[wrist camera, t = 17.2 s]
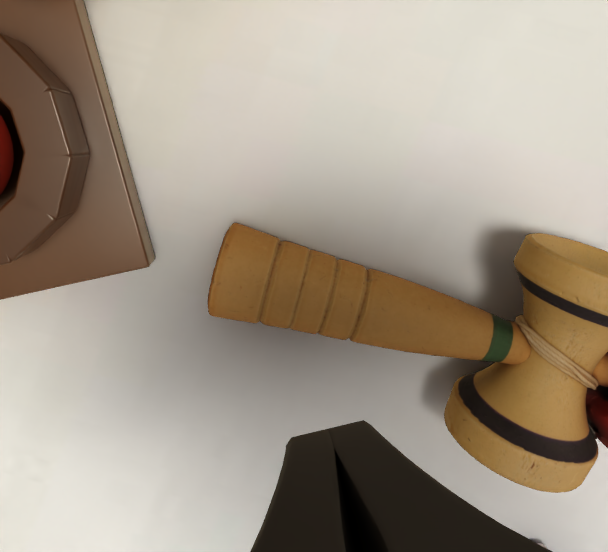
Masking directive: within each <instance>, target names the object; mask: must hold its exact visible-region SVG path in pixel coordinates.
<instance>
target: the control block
mask: <svg viewBox="0 0 608 552" xmlns="http://www.w3.org/2000/svg"><path fill="white" fill-rule="evenodd" d="M0 115H1V116H2V118H3V120H4V121H5V123H6V125H7V128H8V130H9V133H10V136H11V140H12V144H13V152H14V162H13V169H12V173H11V176H10V179H9V181H8V184H7V186H6V188H5V189H4V191H3V192H2V194H1V195H0V300H1V299H5V298H10V297H14V296H19V295H24V294H28V293H33V292H37V291H42V290H46V289H51V288H55V287H60V286H64V285H69V284H73V283H78V282H83V281H87V280H92V279H96V278H101V277H105V276H110V275H114V274H119V273H123V272H128V271H132V270H137V269H142V268H146V267H149V266H150V265H151V263H152V262H153V261H154V259H155V256H154V252H153V249H152V245H151V242H150V238H149V234H148V231H147V227H146V224H145V220H144V216H143V213H142V209H141V206H140V202H139V199H138V195H137V191H136V188H135V184H134V181H133V177H132V174H131V170H130V166H129V163H128V159H127V156H126V152H125V148H124V145H123V141H122V138H121V134H120V131H119V127H118V123H117V120H116V116H115V113H114V109H113V105H112V102H111V98H110V95H109V91H108V88H107V84H106V80H105V77H104V73H103V70H102V66H101V62H100V59H99V55H98V52H97V48H96V45H95V41H94V37H93V34H92V30H91V27H90V23H89V19H88V16H87V12H86V9H85V5H84V2H83V0H0Z"/></svg>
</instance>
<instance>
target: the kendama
mask: <svg viewBox="0 0 608 552" xmlns="http://www.w3.org/2000/svg"><path fill="white" fill-rule="evenodd" d="M513 262H514V265H515V268H516V270H517V273H518V275H519V279H520V282H521V285H522V289H523V295H524V303H523V312H524V314H523V315H519V316H517V317H516V320H515V321H514V322H512V321H507V320H504V319H502V318H500V317H498V316H496V315H494V314H491V313H488V312H486V311H484V310H482V309H479V308H477V307H475V306H472V305H470V304H467V303H465V302H463V301H461V300H458V299H455V298H453V297H450V296H448V295H445V294H443V293H440V292H437V291H435V290H432V289H429V288H427V287H424V286H422V285H419V284H416V283H413V282H410V281H408V280H405V279H402V278H399V277H396V276H393V275H390V274H387V273H384V272H381V271H377V270H374V269H368V270H366V269H365V267H364V266H362V265H359V264H355V263H352V262H349V261H346V260H343V259H339V260H337V259H336V258H335V257H334V256H331V255H328V254H325V253H322V252H319V251H315V250H309V249H308V248H306V247H304V246H301V245H298V244H294V243H291V242H288V241H280V240H279V239H278V238H277V237H274V236H271V235H268V234H266V233H263V232H260V231H257V230H255V229H252V228H249V227H247V226H244V225H241V224H238V223H233V224H232V225H231V226H230V227H229V229H228V230H227V232H226V234H225V236H224V239H223V242H222V245H221V248H220V251H219V254H218V257H217V261H216V265H215V268H214V271H213V275H212V279H211V284H210V288H209V295H208V312H209V314H210V315H211V316H214V317H220V318H226V319H232V320H238V321H245V322H251V323H257V322H259V321H261V322H262V323H263V324H265V325H269V326H275V327H280V328H290V329H292V330H297V331H301V332H307V333H312V334H316V333H319V334H320V335H323V336H327V337H332V338H337V339H342V340H346V339H348V338H349V339H350V340H351V341H353V342H357V343H362V344H367V345H372V346H377V347H383V348H388V349H394V350H400V351H406V352H413V353H420V354H428V355H434V356H445V357H453V358H461V359H469V360H479V361H492V362H495V363H494V364H492V365H491V366H489V367H487V368H486V369H484V370H482V371H478V372H475V373H473V374H468V375H464V376H462V377H460V378H459V379H458V380H457V381H456V382H455V383H454V386H453V388H452V391H451V394H450V397H449V399H448V402H447V405H446V408H445V412H444V419H445V423H446V426H447V428H448V430H449V432H450V433H451V434H452V436H453V437H454V438H455V440H456V441H457V442H458V443H459V444H460V446H461V447H462V448H463V449H464V450H466V451H467V452H468V453H469V454H470V455H471V456H472V457H474V458H475V459H476V460H477V461H479V462H480V463H481V464H483V465H484V466H486V467H487V468H489V469H490V470H492V471H494V472H495V473H497V474H499V475H501V476H503V477H505V478H507V479H509V480H511V481H513V482H515V483H518V484H521V485H523V486H526V487H529V488H532V489H536V490H539V491H546V492H555V493H558V492H568V491H571V490H573V489H575V488H577V487H578V486H580V485H581V484H582V482H583V481H584V479H585V477H586V476H587V474H588V473H589V471H590V469H591V468H592V466H593V465H594V463H595V461H596V459H597V457H598V446H597V443H596V440H595V439H597V438H598V439H599V440H600V441H601V442H602V443H603V444H604V445H605V446H606V447H607V448H608V252H606V251H604V250H601V249H598V248H595V247H592V246H589V245H586V244H583V243H580V242H576V241H573V240H570V239H566V238H562V237H557V236H553V235H548V234H541V233H536V234H535V233H534V234H528V235H526V236H525V239H524V241H523V243H522V245H521V247H520V249H519V250H518V252H517V254H516V256H515V259H514V261H513Z"/></svg>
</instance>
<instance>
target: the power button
mask: <svg viewBox="0 0 608 552" xmlns="http://www.w3.org/2000/svg"><path fill="white" fill-rule="evenodd" d="M13 162H14V152H13V144H12V140H11V136H10V133H9V130H8V128H7V125H6V123H5V121H4V120H3V118H2V116H1V115H0V195H1V194H2V192H3V191H4V189H5V188H6V186H7V184H8V181H9V179H10V176H11V173H12V169H13Z"/></svg>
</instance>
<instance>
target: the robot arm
mask: <svg viewBox="0 0 608 552" xmlns="http://www.w3.org/2000/svg"><path fill="white" fill-rule="evenodd" d="M251 552H552V551H550V550H548V549H547V547H546V546H545V545H544V544H541V543H535V542H533V541H531V540H529V539H528V538H526V537H524V536H522V535H520V534H518V533H517V532H515V531H513V530H511V529H509V528H507V527H505V526H504V525H502V524H500V523H499V522H497V521H495V520H494V519H492V518H491V517H489V516H487V515H486V514H484V513H483V512H481V511H480V510H478V509H477V508H475V507H474V506H472V505H470V504H469V503H467V502H466V501H464V500H463V499H461V498H460V497H458V496H457V495H456V494H454V493H453V492H451V491H450V490H449V489H447V488H446V487H444V486H443V485H442V484H440V483H439V482H438V481H436V480H435V479H434V478H432V477H431V476H430V475H428V474H427V473H426V472H424V471H423V470H422V469H421V468H419V467H418V466H417V465H415V464H414V463H413V462H412V461H410V460H409V459H408V458H407V457H406V456H404V455H403V454H402V453H401V452H400V451H399V450H397V449H396V448H395V447H394V446H393V445H392V444H390V443H389V442H388V441H387V440H386V439H385V438H384V437H383V436H382V435H381V434H380V433H379V432H378V431H376V430H375V429H374V428H373V427H372V426H371V425H370V424H368V423H367V422H365V421H364V420H363V421H359V422H354V423H350V424H346V425H342V426H338V427H334V428H329V429H325V430H321V431H317V432H313V433H308V434H304V435H300V436H296V437H292V438H291V439H290V441H289V442H288V444H287V445H286V452H285V457H284V461H283V466H282V469H281V473H280V476H279V479H278V483H277V486H276V489H275V492H274V495H273V497H272V500H271V503H270V506H269V508H268V511H267V514H266V517H265V519H264V522H263V524H262V527H261V529H260V531H259V534H258V536H257V538H256V540H255V543H254V545H253V547H252V549H251Z"/></svg>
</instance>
